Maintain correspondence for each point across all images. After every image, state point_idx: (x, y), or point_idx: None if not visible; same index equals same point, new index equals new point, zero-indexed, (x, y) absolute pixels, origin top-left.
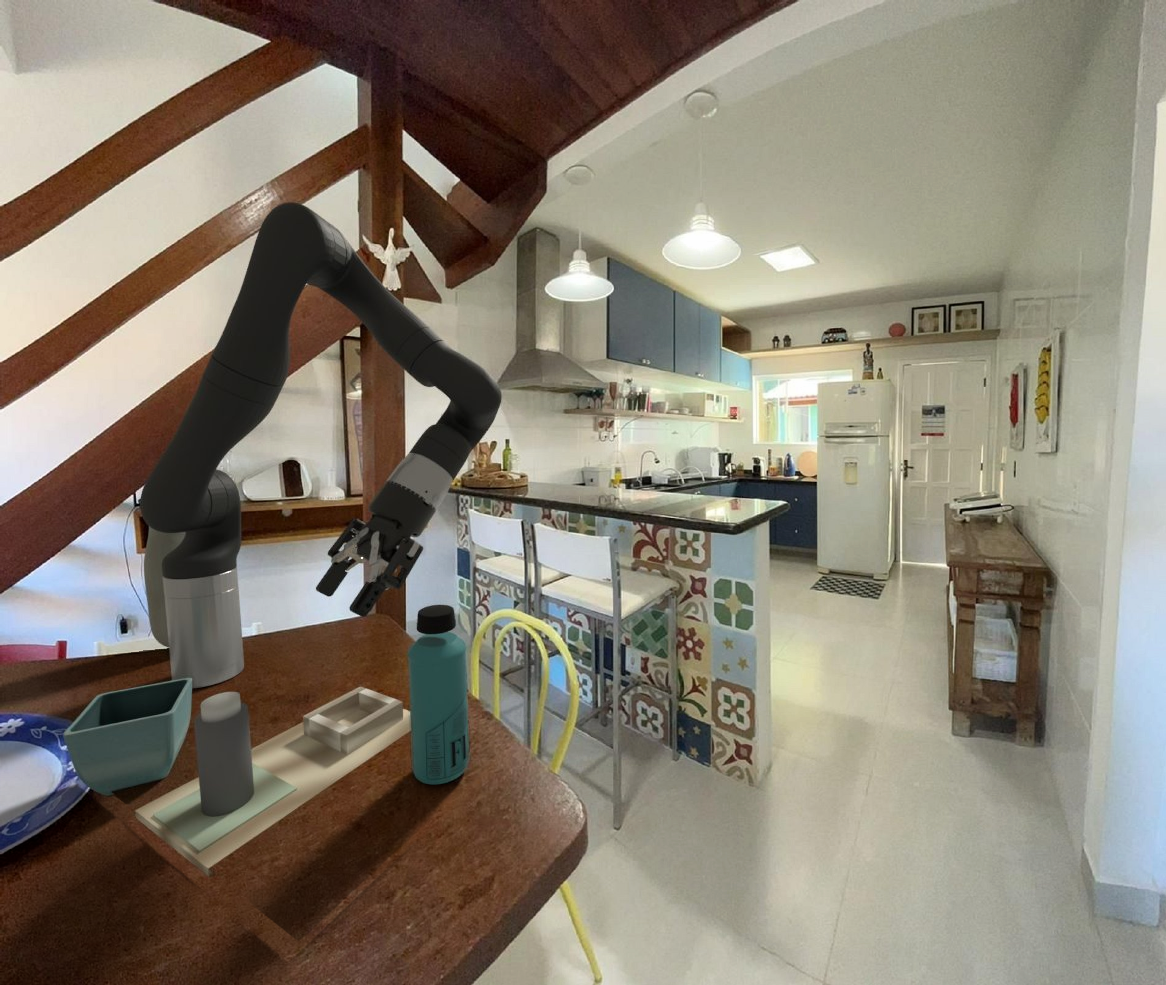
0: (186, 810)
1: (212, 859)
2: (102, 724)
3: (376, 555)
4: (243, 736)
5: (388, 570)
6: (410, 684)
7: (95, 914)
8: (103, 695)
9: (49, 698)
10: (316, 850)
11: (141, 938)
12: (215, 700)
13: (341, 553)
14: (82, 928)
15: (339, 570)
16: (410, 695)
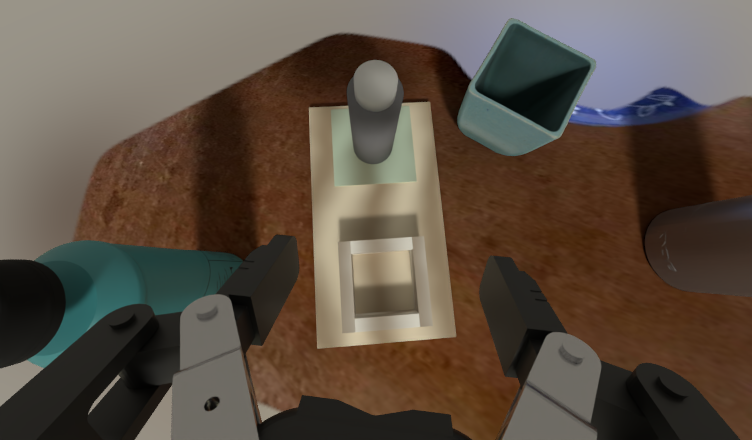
0: None
1: (315, 113)
2: (557, 82)
3: (178, 398)
4: (351, 119)
5: (90, 348)
6: (158, 250)
7: (343, 64)
8: (590, 64)
9: (749, 122)
10: (261, 164)
11: (296, 72)
12: (380, 75)
13: (566, 389)
14: (338, 57)
15: (512, 342)
16: (175, 252)
